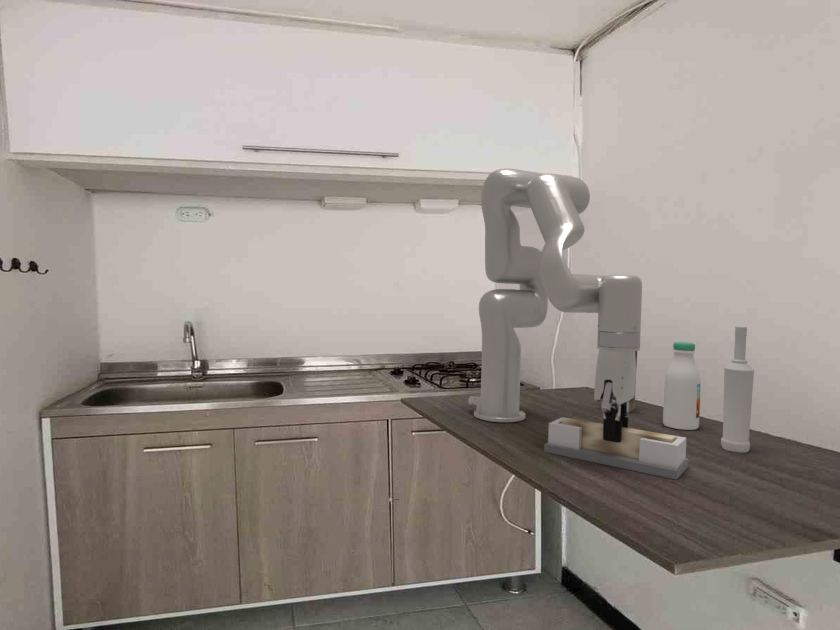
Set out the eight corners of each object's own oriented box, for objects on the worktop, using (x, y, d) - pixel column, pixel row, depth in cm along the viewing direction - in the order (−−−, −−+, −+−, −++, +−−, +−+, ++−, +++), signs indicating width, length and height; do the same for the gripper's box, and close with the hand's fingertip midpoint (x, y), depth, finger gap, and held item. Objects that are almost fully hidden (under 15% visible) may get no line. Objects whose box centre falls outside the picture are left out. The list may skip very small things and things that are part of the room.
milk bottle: (690, 432, 124) (694, 345, 123) (656, 425, 130) (660, 342, 129) (704, 427, 129) (708, 343, 128) (671, 421, 135) (675, 340, 134)
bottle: (754, 454, 108) (760, 328, 107) (725, 451, 109) (731, 327, 108) (744, 446, 113) (750, 326, 112) (717, 444, 114) (722, 325, 113)
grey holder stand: (544, 451, 107) (544, 423, 106) (562, 442, 114) (563, 416, 113) (676, 479, 92) (678, 447, 92) (688, 466, 99) (689, 436, 99)
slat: (561, 443, 107) (562, 420, 107) (567, 440, 110) (568, 417, 110) (670, 464, 95) (671, 439, 95) (674, 460, 98) (675, 435, 97)
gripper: (612, 337, 111) (609, 427, 111) (582, 342, 97) (579, 444, 98) (651, 340, 106) (648, 434, 107) (625, 345, 93) (622, 452, 94)
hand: (615, 438), depth 102 cm, fingers open, 3 cm apart
